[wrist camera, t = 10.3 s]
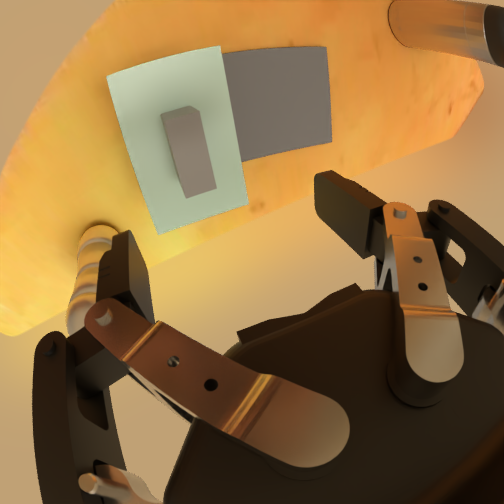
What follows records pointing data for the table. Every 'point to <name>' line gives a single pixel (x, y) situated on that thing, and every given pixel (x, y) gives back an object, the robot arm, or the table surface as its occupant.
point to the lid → (181, 136)
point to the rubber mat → (279, 99)
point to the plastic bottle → (87, 274)
